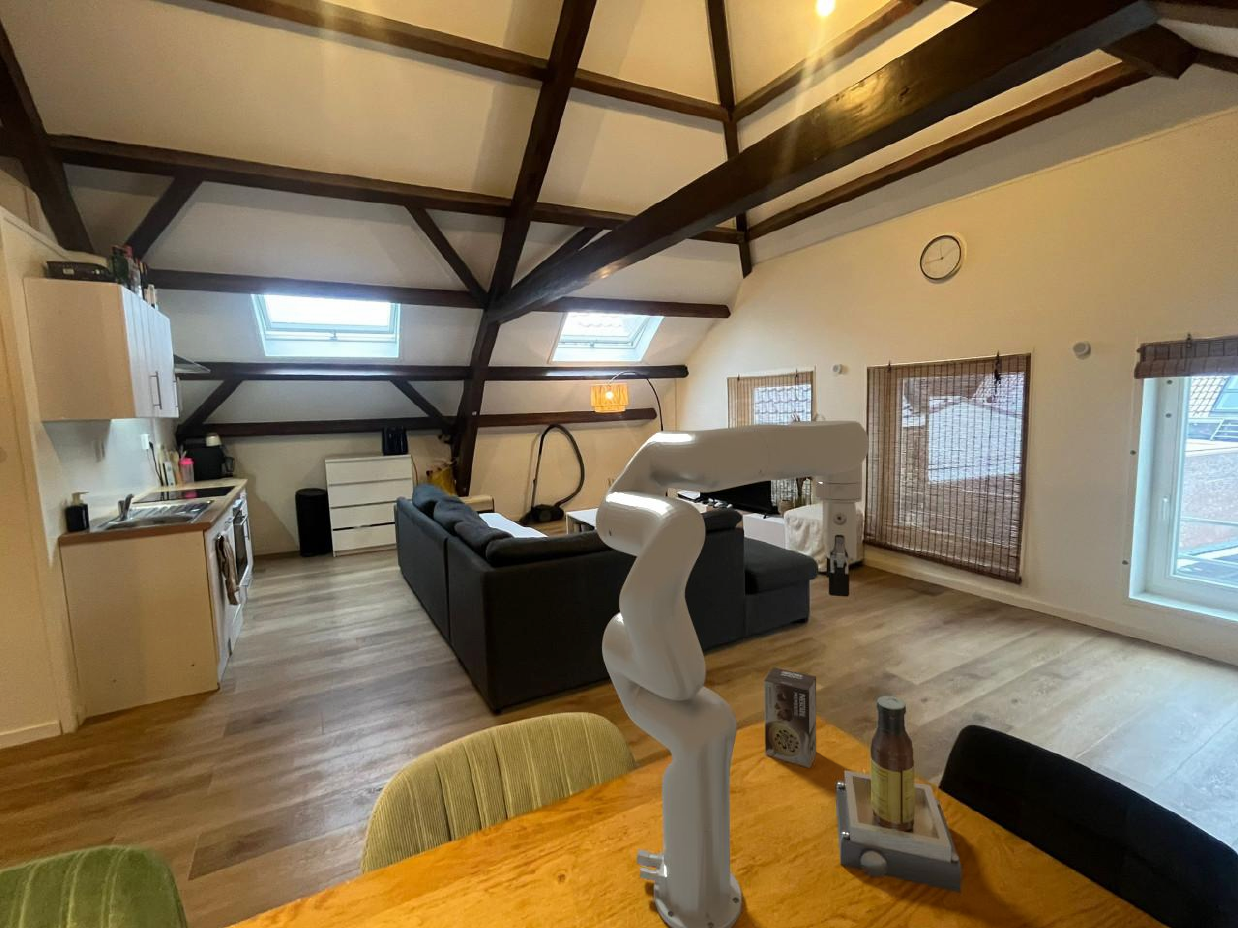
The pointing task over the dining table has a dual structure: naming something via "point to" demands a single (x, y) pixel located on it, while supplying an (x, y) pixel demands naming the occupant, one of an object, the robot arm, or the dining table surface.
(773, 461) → the robot arm
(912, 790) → the sauce bottle
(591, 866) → the dining table surface
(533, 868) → the dining table surface
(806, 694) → the coffee box
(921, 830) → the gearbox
